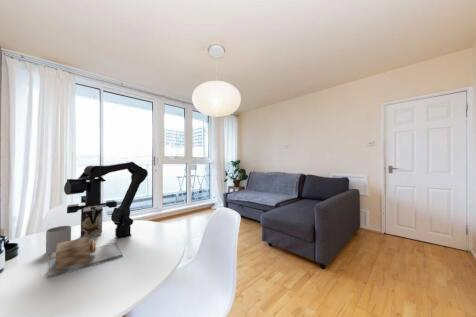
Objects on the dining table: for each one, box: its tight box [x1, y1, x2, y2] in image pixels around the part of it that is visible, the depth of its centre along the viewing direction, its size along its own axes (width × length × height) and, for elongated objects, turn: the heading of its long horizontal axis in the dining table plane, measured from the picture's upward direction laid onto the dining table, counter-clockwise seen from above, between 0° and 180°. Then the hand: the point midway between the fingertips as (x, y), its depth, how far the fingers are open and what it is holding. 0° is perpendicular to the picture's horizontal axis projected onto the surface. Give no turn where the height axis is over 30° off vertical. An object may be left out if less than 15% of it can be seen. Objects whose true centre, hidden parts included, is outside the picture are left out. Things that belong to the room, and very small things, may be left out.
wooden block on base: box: [46, 237, 124, 279], centre depth 80 cm, size 23×16×8 cm
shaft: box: [50, 240, 97, 260], centre depth 77 cm, size 14×5×5 cm, turn 131°
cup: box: [45, 225, 72, 256], centre depth 87 cm, size 8×8×10 cm
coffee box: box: [80, 207, 104, 239], centre depth 106 cm, size 9×6×16 cm
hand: (92, 224), depth 91 cm, fingers closed
